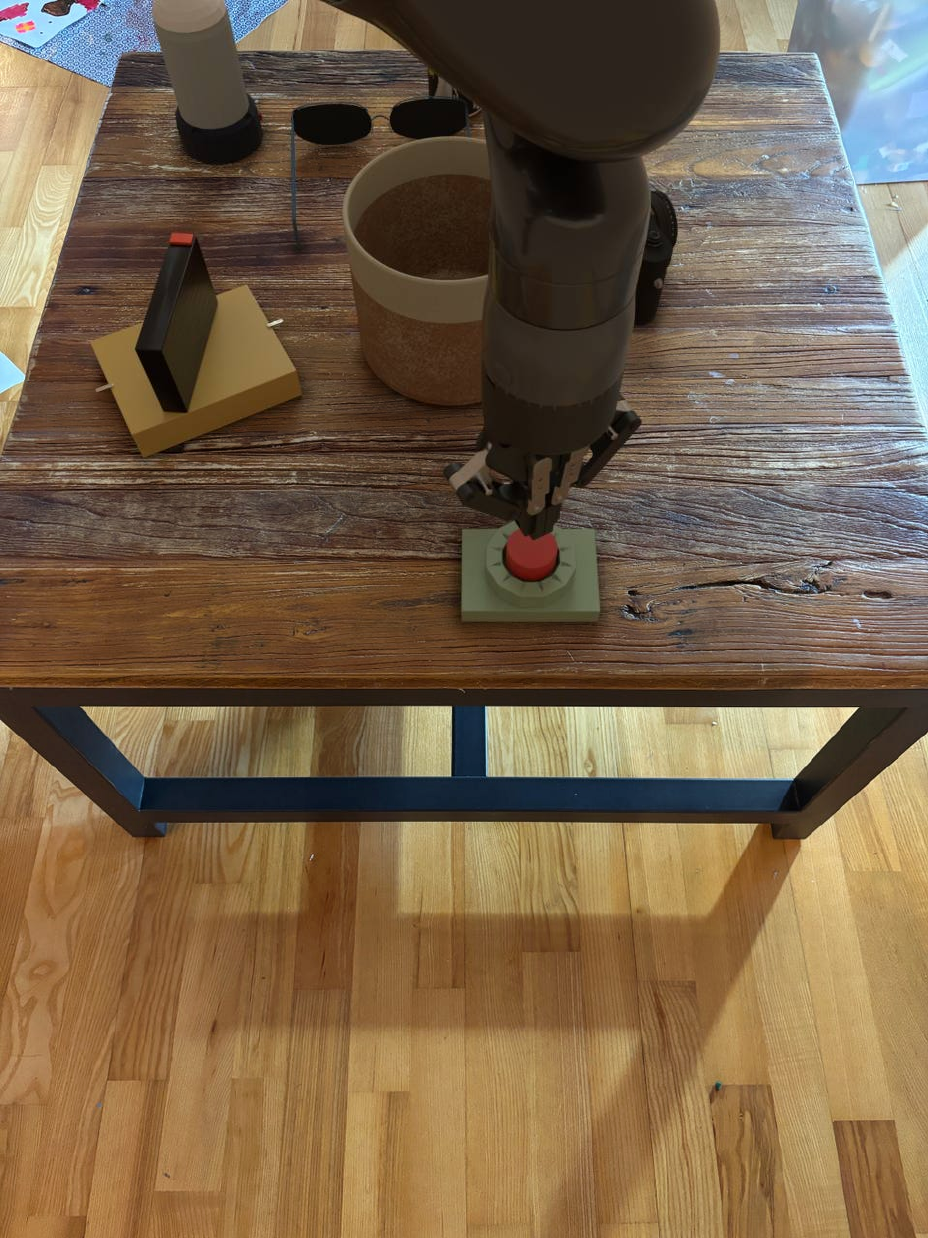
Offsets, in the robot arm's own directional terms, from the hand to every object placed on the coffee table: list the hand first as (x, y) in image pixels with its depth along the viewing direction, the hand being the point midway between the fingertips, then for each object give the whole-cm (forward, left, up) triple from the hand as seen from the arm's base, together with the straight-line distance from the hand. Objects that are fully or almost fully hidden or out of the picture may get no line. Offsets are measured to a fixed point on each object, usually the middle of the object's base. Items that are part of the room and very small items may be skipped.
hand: (534, 526), depth 63 cm
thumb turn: (-15, +30, -4) cm, 34 cm away
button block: (0, 0, -7) cm, 7 cm away
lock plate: (-15, +30, -7) cm, 34 cm away
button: (0, 0, -4) cm, 4 cm away
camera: (+24, +24, -8) cm, 35 cm away
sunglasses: (+9, +44, -8) cm, 45 cm away
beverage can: (+21, +52, -8) cm, 56 cm away
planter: (+6, +24, -8) cm, 26 cm away
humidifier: (-2, +59, -8) cm, 59 cm away
